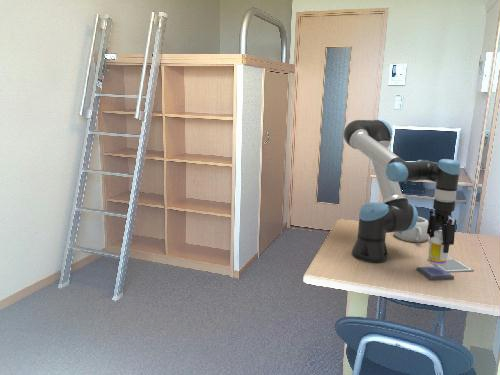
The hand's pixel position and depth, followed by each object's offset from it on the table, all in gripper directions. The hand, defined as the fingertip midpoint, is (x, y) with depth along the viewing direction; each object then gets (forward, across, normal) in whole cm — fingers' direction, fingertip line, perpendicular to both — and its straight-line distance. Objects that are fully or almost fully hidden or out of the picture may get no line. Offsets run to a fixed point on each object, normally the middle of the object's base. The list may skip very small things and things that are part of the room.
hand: (437, 256), depth 169 cm
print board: (+8, +8, -12) cm, 16 cm away
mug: (+8, +41, -14) cm, 44 cm away
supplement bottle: (+3, 0, 0) cm, 3 cm away
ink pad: (+8, 0, 0) cm, 8 cm away
